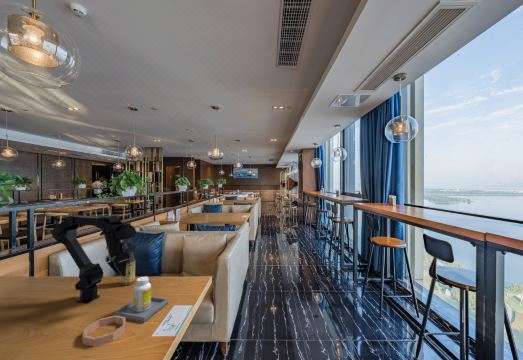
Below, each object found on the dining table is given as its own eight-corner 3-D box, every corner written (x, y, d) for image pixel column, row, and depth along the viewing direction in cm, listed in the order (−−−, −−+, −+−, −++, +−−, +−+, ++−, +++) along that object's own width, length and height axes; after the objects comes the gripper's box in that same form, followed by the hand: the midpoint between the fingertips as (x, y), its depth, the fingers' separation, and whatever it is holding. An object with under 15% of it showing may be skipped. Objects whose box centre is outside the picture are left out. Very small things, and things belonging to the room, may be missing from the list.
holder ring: (73, 342, 77) (74, 334, 77) (106, 320, 89) (107, 313, 89) (103, 348, 74) (103, 341, 74) (133, 325, 87) (133, 318, 87)
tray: (114, 317, 92) (114, 312, 92) (141, 298, 106) (141, 294, 106) (144, 322, 88) (144, 317, 88) (168, 303, 102) (168, 298, 102)
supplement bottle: (152, 303, 101) (153, 275, 101) (148, 312, 94) (148, 281, 94) (136, 304, 100) (137, 275, 100) (130, 313, 93) (131, 282, 93)
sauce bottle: (128, 286, 118) (129, 249, 118) (118, 285, 119) (118, 248, 119) (137, 281, 124) (138, 245, 124) (128, 280, 125) (128, 244, 125)
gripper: (138, 235, 103) (146, 268, 102) (127, 237, 116) (134, 267, 115) (110, 244, 95) (119, 280, 94) (101, 245, 107) (109, 277, 107)
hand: (121, 275), depth 103 cm, fingers open, 9 cm apart
